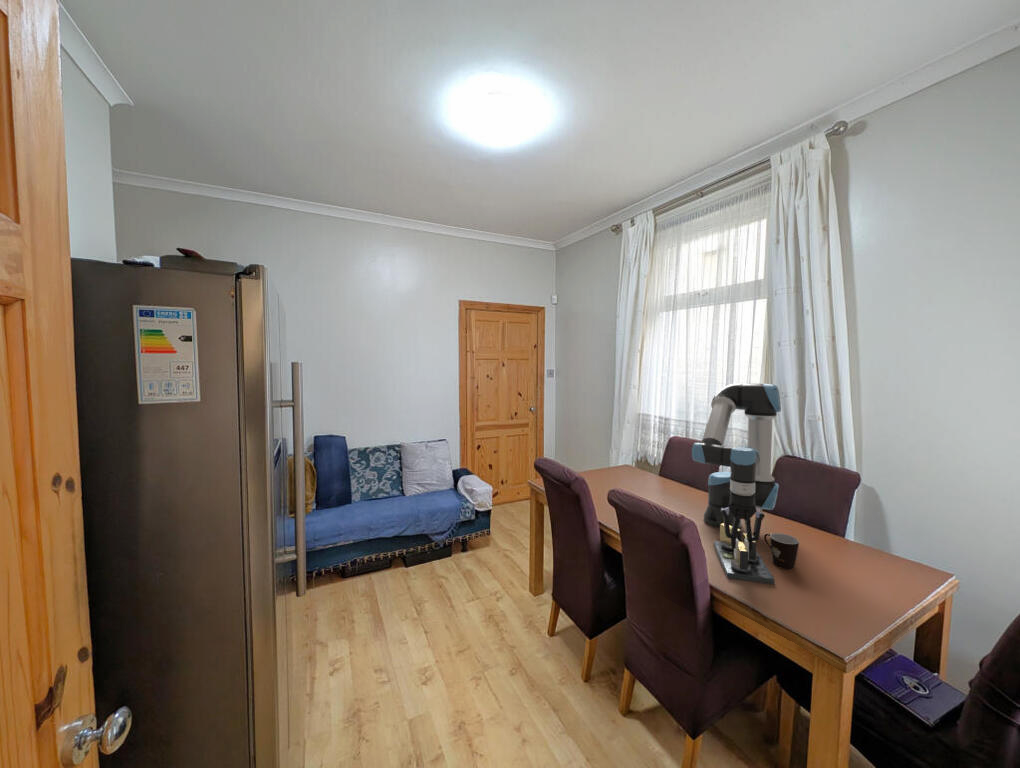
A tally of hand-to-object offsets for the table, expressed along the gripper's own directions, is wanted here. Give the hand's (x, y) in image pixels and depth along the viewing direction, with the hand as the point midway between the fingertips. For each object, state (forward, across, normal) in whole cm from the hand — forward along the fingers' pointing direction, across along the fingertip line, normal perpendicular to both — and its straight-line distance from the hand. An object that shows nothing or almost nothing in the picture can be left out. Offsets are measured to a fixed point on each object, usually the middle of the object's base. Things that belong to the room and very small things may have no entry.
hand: (741, 557), depth 134 cm
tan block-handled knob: (+4, 0, +16) cm, 16 cm away
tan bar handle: (+4, 0, 0) cm, 4 cm away
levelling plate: (+6, +2, +8) cm, 10 cm away
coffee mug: (+6, +16, +13) cm, 22 cm away
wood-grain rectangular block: (+4, +4, +8) cm, 10 cm away
